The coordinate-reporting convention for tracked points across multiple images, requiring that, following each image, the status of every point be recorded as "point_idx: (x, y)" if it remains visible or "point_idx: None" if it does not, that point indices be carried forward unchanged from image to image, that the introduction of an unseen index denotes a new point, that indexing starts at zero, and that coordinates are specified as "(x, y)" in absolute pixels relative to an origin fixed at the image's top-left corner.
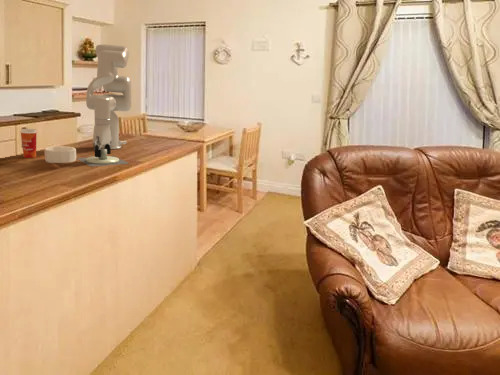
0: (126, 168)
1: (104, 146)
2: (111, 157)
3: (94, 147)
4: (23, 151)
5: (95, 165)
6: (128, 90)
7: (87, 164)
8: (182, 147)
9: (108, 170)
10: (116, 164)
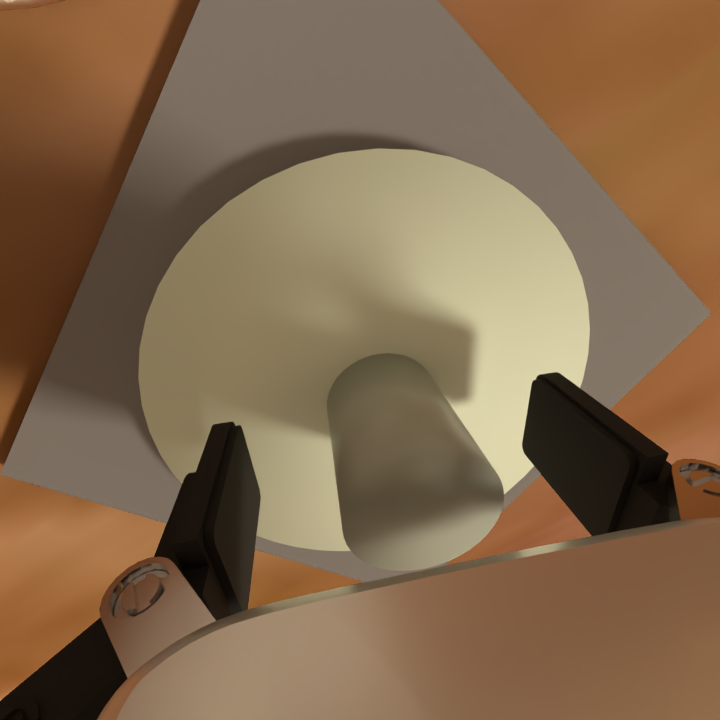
0: None
1: (638, 455)
2: (522, 418)
3: (52, 666)
4: None
5: (96, 477)
6: None
7: (45, 381)
8: None
9: (86, 617)
10: (306, 564)
